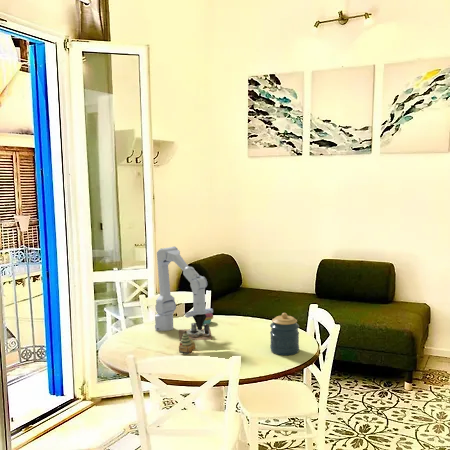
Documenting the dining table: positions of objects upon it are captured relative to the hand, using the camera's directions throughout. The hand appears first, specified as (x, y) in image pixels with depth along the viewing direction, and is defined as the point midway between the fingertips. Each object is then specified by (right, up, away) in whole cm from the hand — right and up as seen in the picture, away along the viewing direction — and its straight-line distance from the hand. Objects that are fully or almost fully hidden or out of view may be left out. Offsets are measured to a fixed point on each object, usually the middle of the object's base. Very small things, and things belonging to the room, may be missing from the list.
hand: (199, 329), depth 236 cm
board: (-3, -5, +6) cm, 8 cm away
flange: (-1, -4, +5) cm, 7 cm away
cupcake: (+2, -3, +26) cm, 26 cm away
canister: (+39, -6, -16) cm, 43 cm away
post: (-3, -5, +6) cm, 9 cm away
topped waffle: (-5, -7, -15) cm, 17 cm away
